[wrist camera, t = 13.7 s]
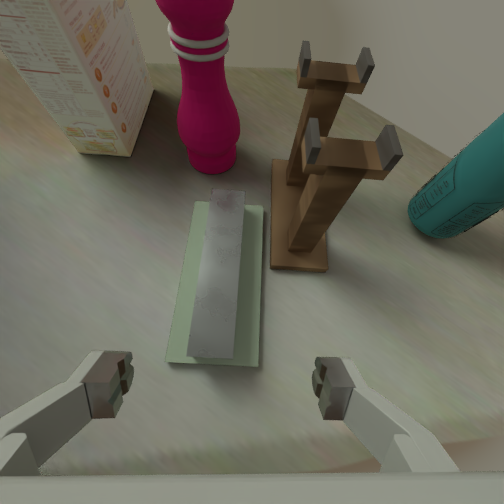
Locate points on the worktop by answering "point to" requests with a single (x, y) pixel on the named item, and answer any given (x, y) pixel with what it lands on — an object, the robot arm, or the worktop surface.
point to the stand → (322, 164)
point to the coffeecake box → (81, 68)
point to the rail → (218, 278)
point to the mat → (247, 291)
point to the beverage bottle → (463, 188)
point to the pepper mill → (203, 82)
